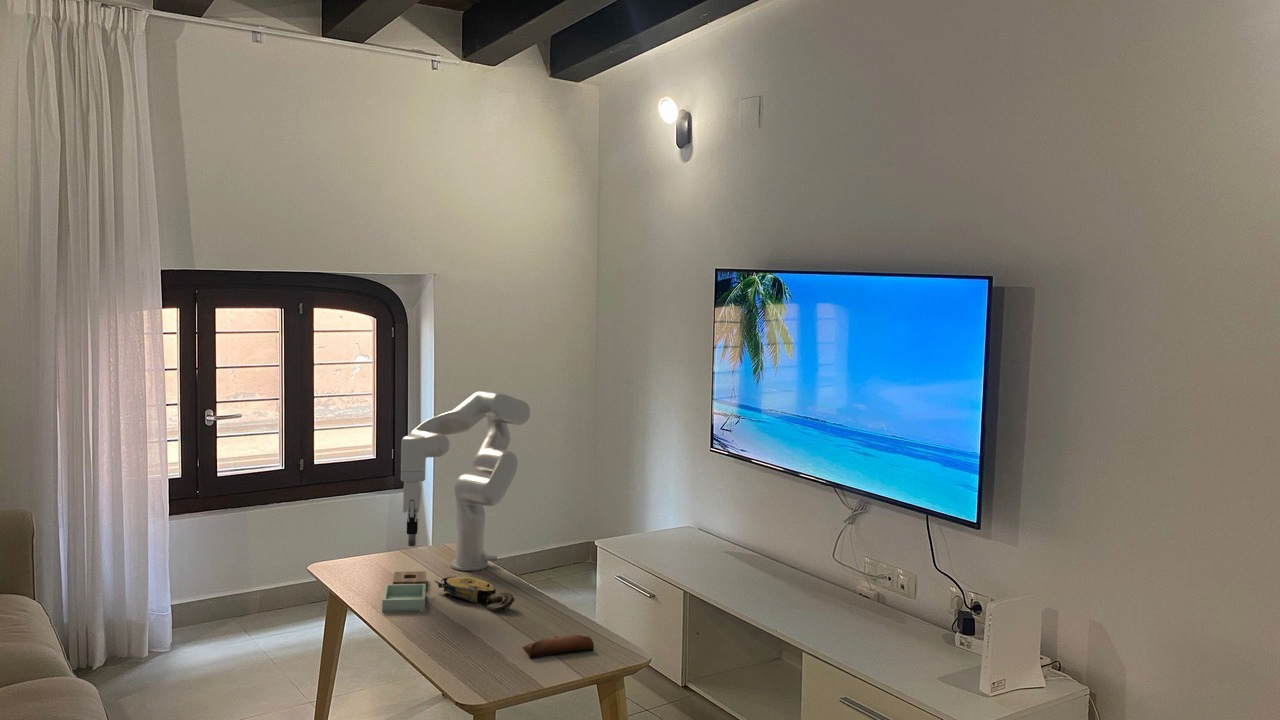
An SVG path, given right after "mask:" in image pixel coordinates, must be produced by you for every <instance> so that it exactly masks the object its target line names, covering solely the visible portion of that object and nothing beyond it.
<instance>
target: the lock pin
mask: <svg viewBox="0 0 1280 720" xmlns="http://www.w3.org/2000/svg"><path fill="white" fill-rule="evenodd" d="M416 535H417V534H407V546H408V547H416V546H417V545H416V544H417V543H416V542H417V540H416V539H417V536H416Z"/></svg>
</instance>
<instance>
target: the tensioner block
mask: <svg viewBox="0 0 1280 720" xmlns="http://www.w3.org/2000/svg"><path fill="white" fill-rule="evenodd" d="M392 584H426V585H427V570H425V571H423V570H422V571H418V570H416V571H394V574H393V579H392Z"/></svg>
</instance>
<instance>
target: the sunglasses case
mask: <svg viewBox="0 0 1280 720" xmlns="http://www.w3.org/2000/svg"><path fill="white" fill-rule="evenodd" d="M594 648H595V646H594V641H593V639H592V638H591V637H590V636H587V635H581V634H570V635H568V634H567V635H564V636H554V637H548V638H547V637H546V638H542V639H540V640H538V641H535V642H532V643H529V644H526V645H524V646H523V647H522V649H523V650H524V651H525V653H526V655H527V656H528V657H529V659H531V658H534V659H535V658H538V657H543V656H547V655H548V656H549V655H553V654H560V653H561V654H563V653H568V652H578V651H587V650H591V651H594Z"/></svg>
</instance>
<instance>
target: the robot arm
mask: <svg viewBox="0 0 1280 720" xmlns="http://www.w3.org/2000/svg"><path fill="white" fill-rule="evenodd" d="M530 416H531V409H530V406H529V405H528V403H527V402H526V401H524V400H522V399H519V398H515V397H513V396H510V395H507V394H504V393H500V392H495V391H489V390H488V391H487V390H479V391H475V392H474V393H473V394H471V395H470V396H469V397H468V398H466V399H465V400H463V401H462V402H460V404H458V405H457V406H455V408H453V409H451V410H450V411H446V412H443V413H441V414H439V415H436V416H433V417H431V418H429V419H426V420H424V421H423V422H421V423H420V424H419V425H418V426H416V427H415V428H414V429H412V431H411V432H410V433H409V435H405V436H403V437H402V439H401V441H400V442H401V444H400V445H401V446H400V481H401V482H403V492H402V493H403V494H402V495H403V496H402V497H403V498H402V500H403V501H402V504H403V505H402V512H403V514H406V513H407V518H406V519H407V520H406V535H408V534H416V535H417V534H418V527H419V522H418V520H419V519H418V513H419V512H420V507H421V499H422V498H421V497H422V482H424V481H426V471H427V470H426V464H427V463H426V461H427V458H439V457H443V456H444V455H446V454H447V453H448V452H449V450H450V447H451V446H450V444H451V443H450V440H449V438H448V437H447V436H449V435H451V436H452V435H457V434H462V433H466V432H469V430H471V429H472V428H473V427H474V426H475V425H476V424H478V423H479V422H481V420H483V419H484V418H486V422H487V432H486V434H485V438H483V440H482V442H481V444H480V447H479V448H478V450H477V452H476V453H475V456H474V458H473V461H472V467H473V469H474V470H473V471H475V472H476V473H469V472H467V473H463V474H461V475H459V477H458V478H457V479H456V480H455V482H454V496H455V502H456V503H455V504H456V526H455V527H456V529H455V552H454V553H455V556H454V559H452V560H451V561H450V567H451V568H452V569H455V570H456V571H457V570H458V571H462V572H463V571H464V572H465V571H466V572H467V571H468V572H471V571H479V570H480V569H481V570H484V569H486V568H487V567H488V566H489V562H497V561H498V555H497V554H495V555H494V554H493V553H487V552H486V551H485V531H486V530H485V529H486V528H485V527H486V512H485V509H484V506H485V507H495V506H497V505H499V504H500V503H501V501H502V500H503V498H504V496H505V494H506V493H507V492H508V489H509V488H510V485H511V483H512V481H513V480H514V478H515V476H516V473H517V471H518V464H519V463H518V462H519V461H518V457H517V455H516V454H515V453H514V452H512V451H510V450H507V449H508V447H509V445H510V442H511V433H510V429H509V426H508V425H514V426H522V425H524V424H526V423H527V422H528V421H529V419H530V418H531V417H530ZM477 473H478V474H477ZM487 561H488V562H487ZM481 570H480V571H481Z"/></svg>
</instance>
